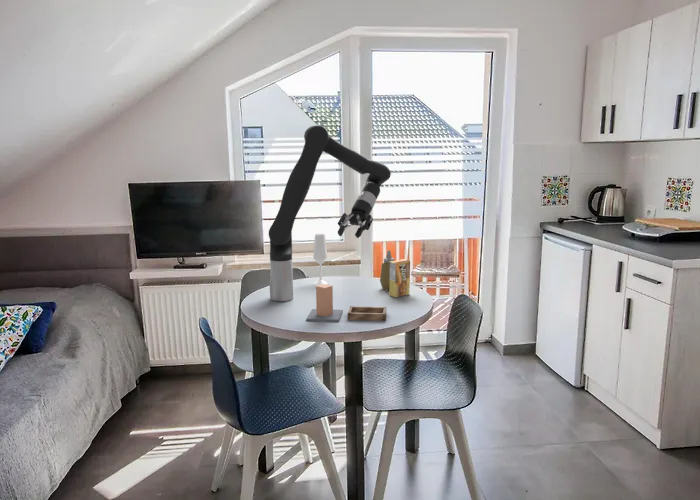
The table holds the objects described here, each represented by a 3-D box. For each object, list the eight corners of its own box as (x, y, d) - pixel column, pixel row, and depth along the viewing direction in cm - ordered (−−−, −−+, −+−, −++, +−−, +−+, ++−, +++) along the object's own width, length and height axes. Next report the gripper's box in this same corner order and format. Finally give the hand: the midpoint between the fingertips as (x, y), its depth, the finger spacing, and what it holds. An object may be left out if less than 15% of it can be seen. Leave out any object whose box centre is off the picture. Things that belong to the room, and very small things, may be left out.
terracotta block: (316, 314, 177) (316, 286, 175) (323, 311, 180) (323, 283, 179) (325, 316, 174) (325, 288, 172) (332, 313, 178) (332, 285, 176)
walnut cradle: (347, 319, 173) (347, 313, 173) (350, 312, 182) (350, 306, 181) (385, 320, 172) (385, 314, 171) (386, 313, 180) (386, 307, 180)
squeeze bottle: (392, 292, 211) (392, 252, 208) (376, 289, 215) (376, 251, 212) (400, 288, 217) (400, 249, 214) (385, 285, 222) (385, 248, 219)
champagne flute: (330, 283, 228) (329, 234, 223) (320, 285, 223) (319, 235, 219) (321, 280, 232) (320, 232, 228) (311, 283, 227) (309, 234, 223)
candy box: (403, 292, 210) (403, 258, 208) (410, 294, 207) (410, 260, 204) (388, 295, 205) (389, 261, 202) (395, 297, 202) (396, 262, 199)
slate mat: (306, 320, 172) (306, 318, 172) (312, 311, 184) (312, 309, 184) (338, 321, 171) (338, 319, 171) (342, 311, 183) (342, 309, 183)
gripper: (346, 198, 195) (329, 228, 188) (375, 199, 187) (358, 231, 179) (353, 209, 200) (337, 240, 193) (382, 211, 192) (366, 243, 185)
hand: (347, 235), depth 186 cm, fingers open, 8 cm apart
